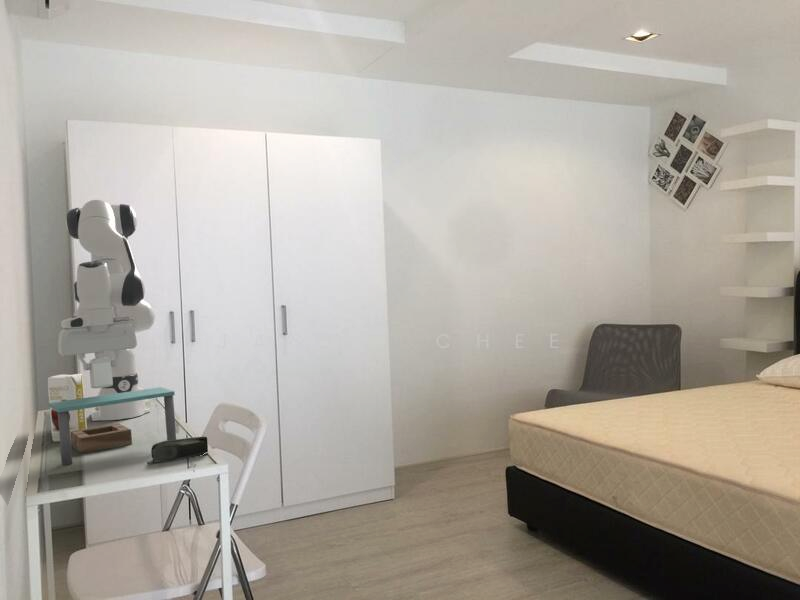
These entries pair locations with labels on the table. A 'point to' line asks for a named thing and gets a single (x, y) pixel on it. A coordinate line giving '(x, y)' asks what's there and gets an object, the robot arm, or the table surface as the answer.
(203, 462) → the table surface
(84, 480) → the table surface
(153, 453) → the mobile phone
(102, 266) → the robot arm
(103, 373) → the eye dropper bottle
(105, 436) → the socket block
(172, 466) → the table surface
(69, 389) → the juice carton
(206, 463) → the table surface
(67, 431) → the teal slab bridge
